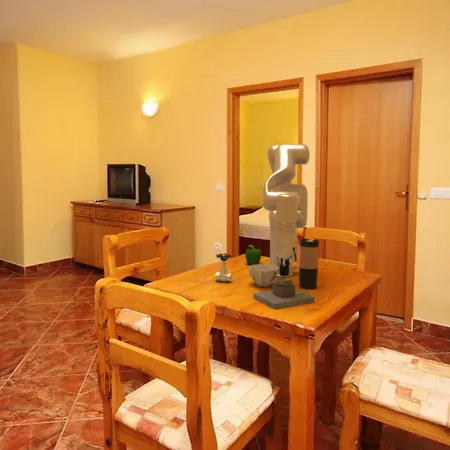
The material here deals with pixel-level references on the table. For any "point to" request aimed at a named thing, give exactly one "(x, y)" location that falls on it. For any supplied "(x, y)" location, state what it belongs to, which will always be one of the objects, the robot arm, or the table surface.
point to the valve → (223, 269)
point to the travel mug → (308, 263)
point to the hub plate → (283, 299)
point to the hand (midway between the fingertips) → (284, 275)
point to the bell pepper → (253, 256)
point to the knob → (283, 288)
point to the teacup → (263, 274)
